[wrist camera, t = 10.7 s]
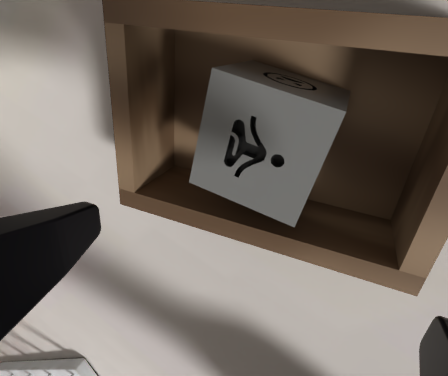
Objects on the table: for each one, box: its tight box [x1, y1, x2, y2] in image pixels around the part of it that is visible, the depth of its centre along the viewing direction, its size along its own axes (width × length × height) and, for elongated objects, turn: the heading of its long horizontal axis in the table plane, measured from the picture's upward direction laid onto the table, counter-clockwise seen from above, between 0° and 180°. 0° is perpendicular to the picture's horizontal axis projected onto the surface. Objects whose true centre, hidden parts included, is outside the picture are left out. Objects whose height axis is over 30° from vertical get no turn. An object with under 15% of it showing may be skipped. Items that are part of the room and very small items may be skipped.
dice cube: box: [189, 60, 350, 227], centre depth 14 cm, size 5×5×5 cm
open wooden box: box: [102, 0, 448, 296], centre depth 15 cm, size 10×15×5 cm, turn 86°
